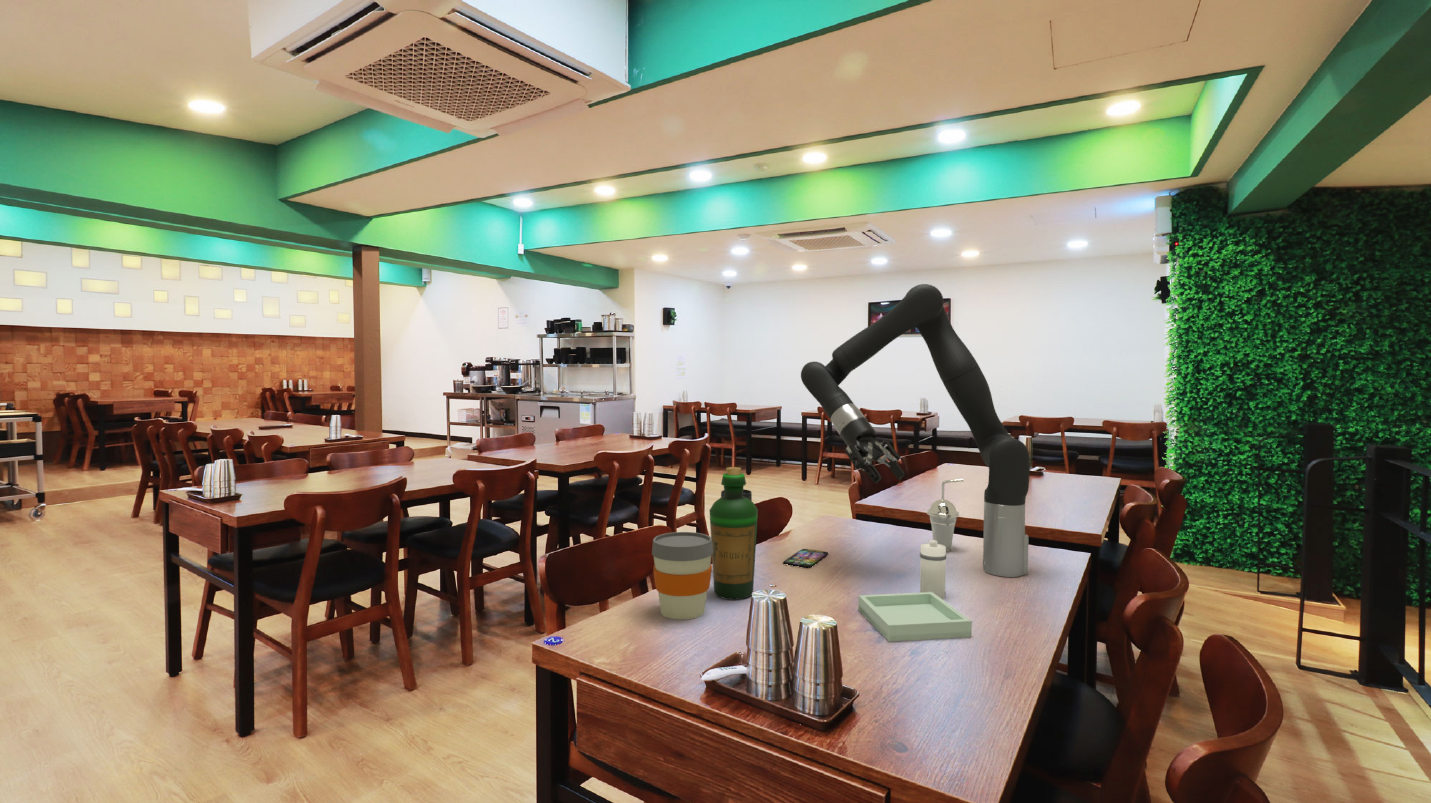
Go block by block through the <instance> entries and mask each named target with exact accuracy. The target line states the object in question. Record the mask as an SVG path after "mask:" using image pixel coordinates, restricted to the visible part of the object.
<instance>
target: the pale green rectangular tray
mask: <svg viewBox="0 0 1431 803" xmlns="http://www.w3.org/2000/svg"><path fill="white" fill-rule="evenodd" d="M858 611H859V612H860V613H861V614H862V615H863V617H864V618H865V619H866V620H868V621H869V622H870V624H871V625H872V626H874V628H875V629H876V630H877V632H879V634H881V635H882V636H883V637H884V638H885V640H886V641H887V642H889V643H891V642H906V641H908V642H909V641H921V640H924V641H925V640H940V639H941V640H942V639H955V638H956V639H957V638H958V639H959V638H960V639H961V638H972V637H973V636H972V635H973V633H972V632H973V631H972V629H973V625H972V623H973V621H972V619H970V618H969V617H967V616H966V615H964V614H963V613H962V612H961V611H959V610H958V609H956V608H954V606H952V605H951V604H949V603H948V602H947V601H946V600H944V599H941V598H940V597H938V596H937V595H936V594H934V593H933V592H924V593H920V592H905V593H904V592H903V593H887V594H886V593H882V594H867V595H866V594H865V595H864V594H862V595H858Z"/></svg>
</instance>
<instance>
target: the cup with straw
mask: <svg viewBox="0 0 1431 803" xmlns="http://www.w3.org/2000/svg"><path fill="white" fill-rule="evenodd" d="M959 482H964V478H959V479H958V478H957V479H948V480H947V479H946V480H944V481H942V483H941V499H938V500H935V501H934V502H933V503H932V504H931V505H930V508H929V509H927V512H926V514H927V515H928V516H929V520H930V524H931V533H932V540H936V541H937V544H941V545H944V546H945V547H946V551H947V552H951V551H952V546H953V541H954V540H953V539H954V532H955V525H956V522H957V518H958V517H960V512H959V511H957V508H956V507H955V506H956V505H955V504H954V503H953V502H951V501H950V500H948V499H945V485H946V484H948V483H959Z"/></svg>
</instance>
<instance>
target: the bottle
mask: <svg viewBox="0 0 1431 803" xmlns="http://www.w3.org/2000/svg"><path fill="white" fill-rule="evenodd" d="M725 470H726V472H724V473H723V474H722V478H721V479H722V480H721V482H720V483H721V485H722V486H723V490H724V494H725V496H723V497H721V496H720V497H719V498H718V499H716V501H715V502H713V504H712V506H711V507H710V509H709V524H710V526H709V527H710V537H711V538H712V545H713V554H712V555H711V562H712V576H713V577H712V578H713V592H714V594H716V596H718V597H720V598H722V597H723V599H725V598H726V600H742V599H741V598H743V599H745V597H746V598H747V596H748V597H750V596H752V595H753V593H752V592H754V581H755V565H756V564H755V562H756V551H757V550H756V549H757V546H756V545H757V530H758V515H759V514H758V513H759V512H758V511H759V509H758V507H757V506H756V505H755V503H754V502H753V500H752V501H750V500H749V499H748V498H746V497H744V496H743V489H744V486H746V485H747V481H746V476H745V473H744V472H743V473H742V472H741V470H742V467H738V466H737V467H736V466H729V467H726V468H725ZM751 594H752V595H751Z"/></svg>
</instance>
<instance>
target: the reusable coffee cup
mask: <svg viewBox="0 0 1431 803" xmlns="http://www.w3.org/2000/svg"><path fill="white" fill-rule="evenodd" d="M651 548H652V549H651V555H652V556H653V560H654V561H653V562H654V564H653V566H652V567H653V568H652V569H653V577H654V578H653V579H654V584H655V589H656V592H658V598H659V599H658V600H659V601H658V602H659V606H660V613H661V615H662V616H664V617H665V618H668V619H672V620H678V621H680V620H682V621H683V620H693V619H696V618H699V617H701V616H703V615H704V614H705V611H706V610H705V609H706V601H707V593H708V590H709V589H710V586H711V579H712V572H713V564H712V563H711V562H712V554H713V545H712V538H711V535H710V536H709V535H707V534H705V533H700V532H695V531H694V532H693V531H676V532H667V533H663V534H659V535H656V536H655V537H654V538H653V539H652V547H651ZM702 614H703V615H702Z"/></svg>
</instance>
